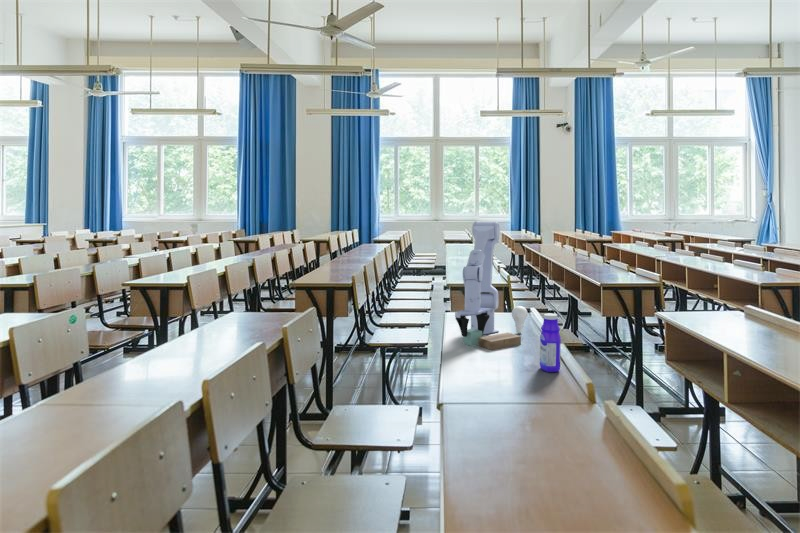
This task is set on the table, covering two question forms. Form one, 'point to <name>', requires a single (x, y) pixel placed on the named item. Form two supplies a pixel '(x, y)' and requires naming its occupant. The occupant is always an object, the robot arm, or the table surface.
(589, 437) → the table surface
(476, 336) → the teal cube
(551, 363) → the bottle
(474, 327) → the robot arm
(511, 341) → the pencil box
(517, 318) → the lightbulb
